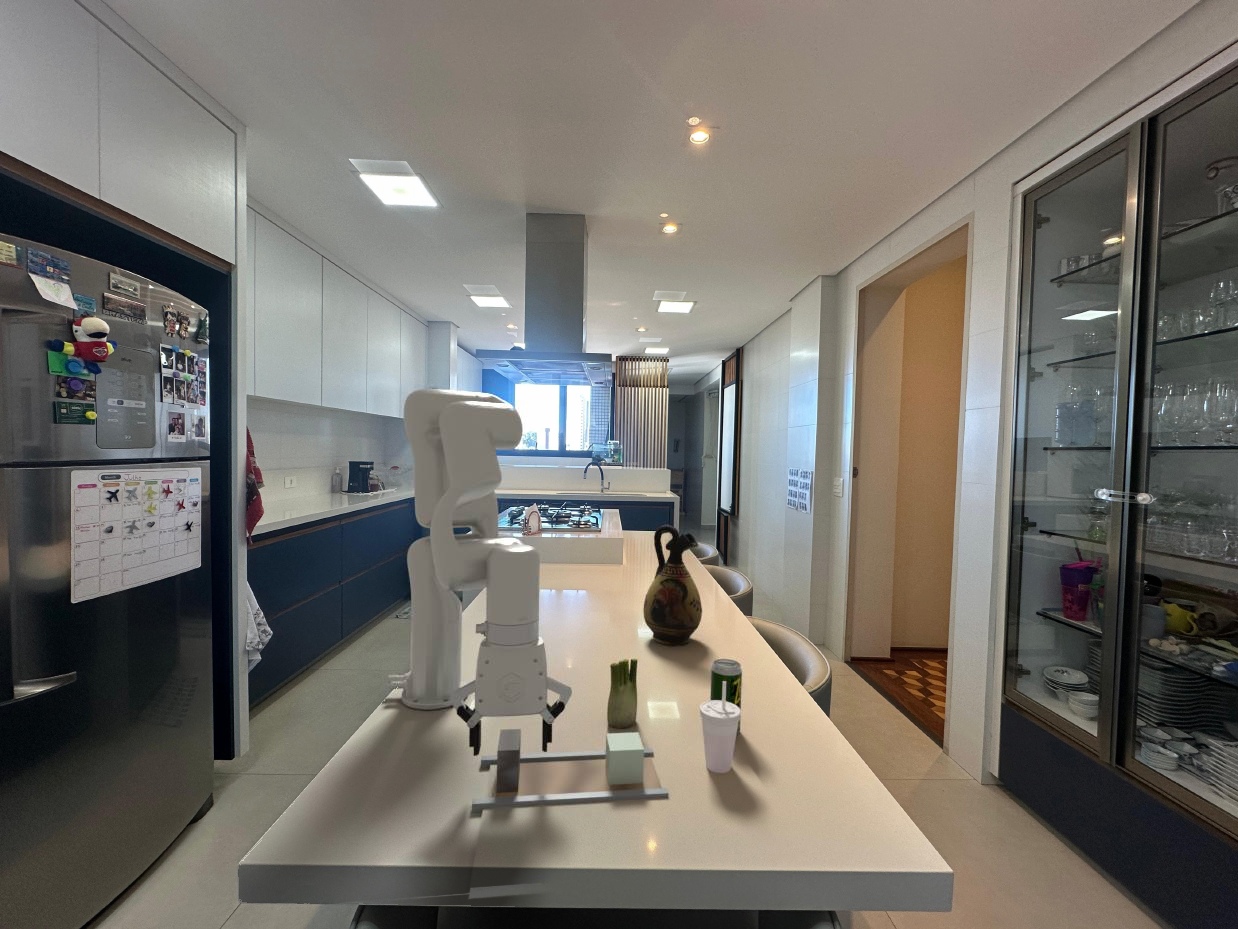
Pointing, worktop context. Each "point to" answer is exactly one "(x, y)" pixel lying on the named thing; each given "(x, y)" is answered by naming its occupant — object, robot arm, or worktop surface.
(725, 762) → the smoothie
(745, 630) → the worktop surface
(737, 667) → the beer can
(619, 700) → the fennel bulb
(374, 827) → the worktop surface
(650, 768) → the strip
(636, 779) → the block
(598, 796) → the lane rails
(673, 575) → the ceramic jug
